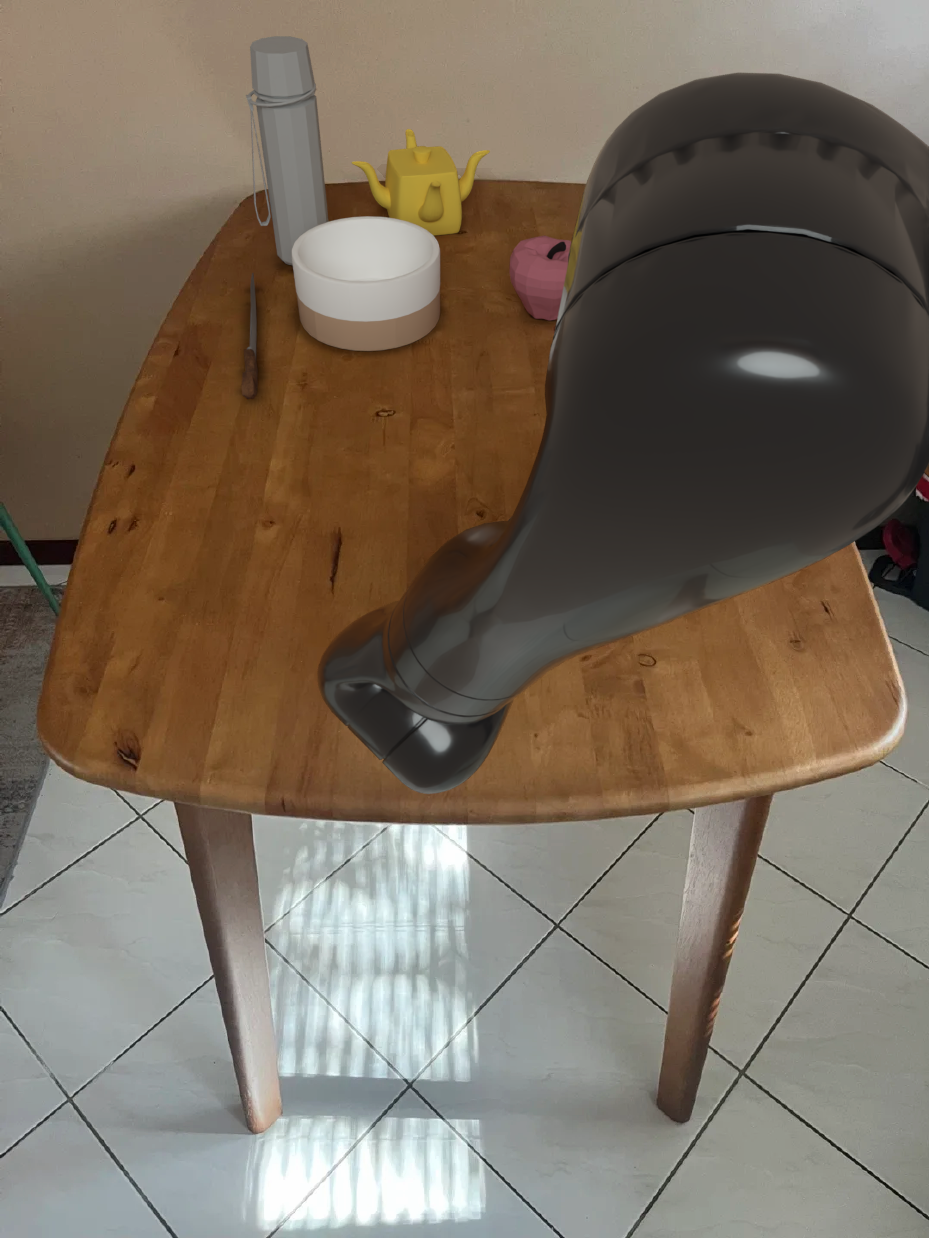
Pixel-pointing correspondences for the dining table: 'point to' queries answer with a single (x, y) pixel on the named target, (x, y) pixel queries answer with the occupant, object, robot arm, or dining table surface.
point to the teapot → (423, 186)
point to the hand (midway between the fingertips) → (692, 420)
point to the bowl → (367, 282)
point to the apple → (540, 274)
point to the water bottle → (288, 138)
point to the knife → (251, 353)
